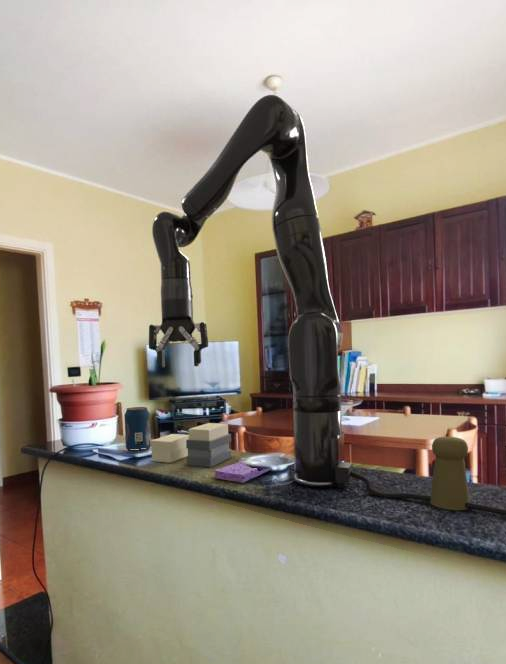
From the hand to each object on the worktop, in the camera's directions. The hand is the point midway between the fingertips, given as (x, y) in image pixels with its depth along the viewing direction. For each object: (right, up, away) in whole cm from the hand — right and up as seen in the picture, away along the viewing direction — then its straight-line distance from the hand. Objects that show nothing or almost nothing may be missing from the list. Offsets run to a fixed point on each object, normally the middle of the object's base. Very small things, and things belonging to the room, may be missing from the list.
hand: (179, 366), depth 104 cm
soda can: (-13, -23, +16) cm, 31 cm away
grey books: (+7, -23, +1) cm, 24 cm away
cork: (+48, -24, -34) cm, 63 cm away
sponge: (+15, -24, -12) cm, 31 cm away
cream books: (-2, -23, +6) cm, 24 cm away
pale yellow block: (+7, -17, +1) cm, 19 cm away
